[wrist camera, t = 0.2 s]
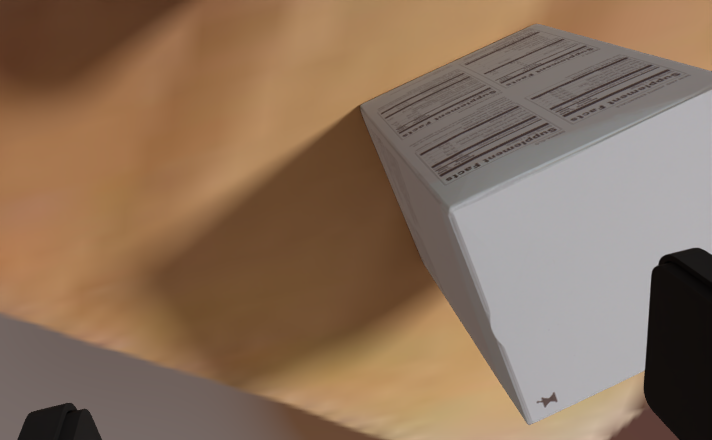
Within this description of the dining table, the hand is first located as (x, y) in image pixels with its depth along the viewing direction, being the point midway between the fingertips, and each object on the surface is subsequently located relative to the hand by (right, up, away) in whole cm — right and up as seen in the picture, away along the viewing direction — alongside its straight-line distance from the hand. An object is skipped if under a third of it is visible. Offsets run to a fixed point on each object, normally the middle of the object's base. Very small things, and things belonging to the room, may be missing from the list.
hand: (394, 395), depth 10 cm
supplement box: (+8, +8, +33) cm, 35 cm away
